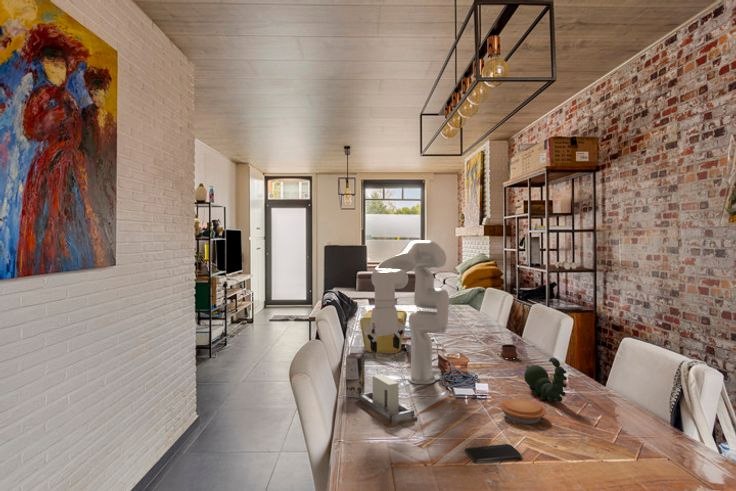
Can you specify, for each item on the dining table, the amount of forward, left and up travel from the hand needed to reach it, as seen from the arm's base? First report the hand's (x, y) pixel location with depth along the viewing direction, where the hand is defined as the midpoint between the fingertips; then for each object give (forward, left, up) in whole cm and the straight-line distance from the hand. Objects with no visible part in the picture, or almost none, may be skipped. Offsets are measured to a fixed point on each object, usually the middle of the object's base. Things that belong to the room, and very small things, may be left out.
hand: (385, 349), depth 156 cm
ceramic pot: (-97, -29, -24) cm, 104 cm away
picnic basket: (-50, -82, -23) cm, 99 cm away
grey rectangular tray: (0, 0, -23) cm, 23 cm away
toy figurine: (-64, +19, -23) cm, 70 cm away
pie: (-40, +29, -23) cm, 55 cm away
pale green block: (0, 0, -22) cm, 22 cm away
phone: (-11, +43, -24) cm, 50 cm away
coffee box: (+1, -22, -23) cm, 32 cm away
